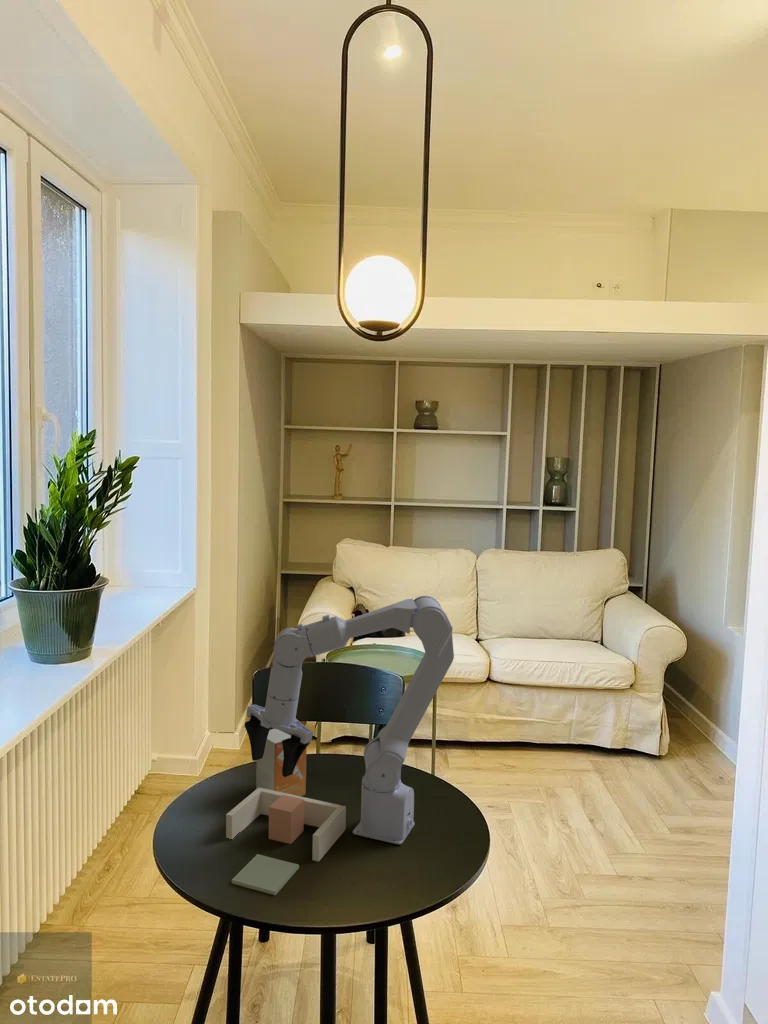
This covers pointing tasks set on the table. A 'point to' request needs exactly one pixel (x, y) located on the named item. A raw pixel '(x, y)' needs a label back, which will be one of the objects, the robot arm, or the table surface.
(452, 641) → the robot arm
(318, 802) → the u-shaped wall
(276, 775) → the small box
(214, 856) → the table surface
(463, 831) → the table surface
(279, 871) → the mat
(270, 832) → the block
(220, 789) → the table surface
